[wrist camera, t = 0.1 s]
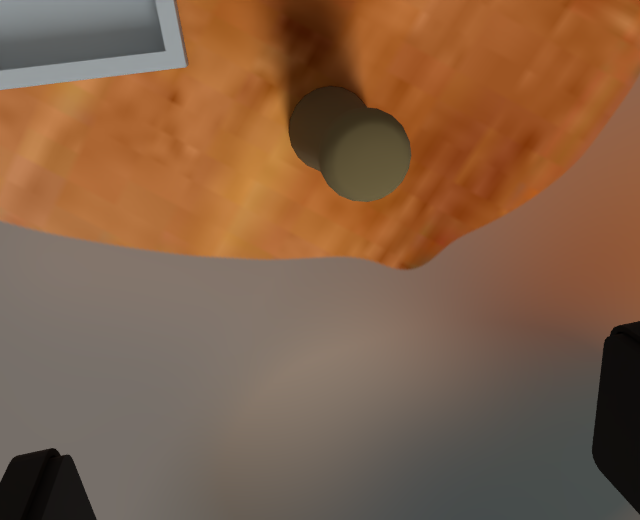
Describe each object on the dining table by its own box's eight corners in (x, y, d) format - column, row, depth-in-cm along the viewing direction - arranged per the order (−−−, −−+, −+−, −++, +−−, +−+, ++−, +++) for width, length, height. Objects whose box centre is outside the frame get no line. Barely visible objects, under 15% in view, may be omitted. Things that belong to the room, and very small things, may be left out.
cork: (272, 143, 38) (294, 180, 28) (319, 68, 37) (360, 78, 27) (340, 186, 40) (383, 235, 30) (387, 117, 39) (448, 144, 29)
